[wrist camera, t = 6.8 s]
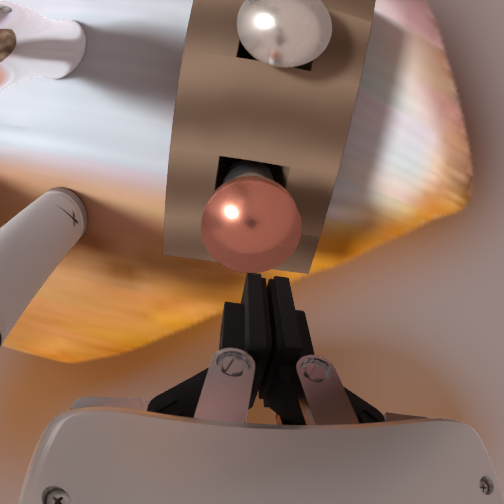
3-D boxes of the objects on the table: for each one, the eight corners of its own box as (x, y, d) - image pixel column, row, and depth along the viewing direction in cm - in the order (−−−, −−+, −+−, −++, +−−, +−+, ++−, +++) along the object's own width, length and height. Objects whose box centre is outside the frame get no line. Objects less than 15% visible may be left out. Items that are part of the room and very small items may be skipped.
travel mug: (93, 193, 28) (-33, 334, 11) (84, 248, 31) (-10, 395, 14) (44, 176, 27) (-94, 290, 10) (39, 230, 30) (-68, 356, 13)
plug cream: (244, 6, 20) (246, -24, 13) (311, 19, 21) (338, -3, 14) (233, 65, 23) (229, 58, 16) (299, 77, 24) (322, 76, 17)
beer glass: (58, 5, 18) (-52, -15, 5) (104, 34, 21) (-5, 14, 8) (21, 64, 21) (-92, 83, 8) (63, 96, 23) (-52, 128, 10)
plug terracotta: (218, 144, 23) (206, 174, 16) (290, 156, 24) (312, 191, 17) (208, 211, 26) (196, 266, 19) (276, 221, 27) (289, 278, 19)
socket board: (213, -28, 19) (206, -53, 13) (352, -1, 20) (378, -17, 15) (175, 222, 30) (162, 254, 25) (297, 239, 32) (308, 273, 26)
